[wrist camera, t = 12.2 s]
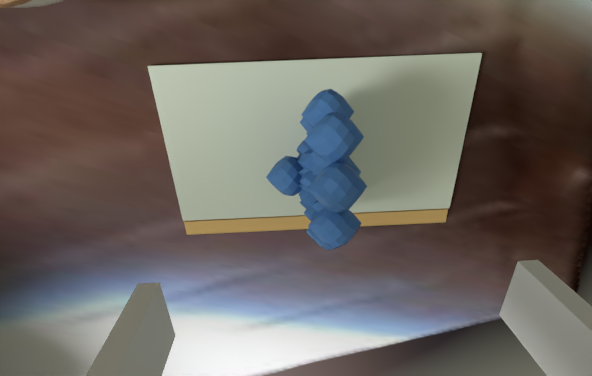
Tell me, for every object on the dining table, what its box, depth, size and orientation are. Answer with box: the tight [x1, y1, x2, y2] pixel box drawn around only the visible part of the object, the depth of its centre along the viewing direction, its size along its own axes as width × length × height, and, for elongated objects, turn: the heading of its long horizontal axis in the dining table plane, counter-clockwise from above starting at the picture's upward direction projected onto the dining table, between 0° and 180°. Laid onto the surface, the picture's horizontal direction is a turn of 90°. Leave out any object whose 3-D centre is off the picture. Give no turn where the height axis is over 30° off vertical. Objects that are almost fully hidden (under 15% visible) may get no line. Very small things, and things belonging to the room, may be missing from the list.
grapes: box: [266, 89, 367, 250], centre depth 22 cm, size 12×7×12 cm, turn 3°
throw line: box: [184, 208, 448, 235], centre depth 31 cm, size 26×2×1 cm, turn 92°
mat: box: [148, 53, 482, 221], centre depth 28 cm, size 26×14×1 cm, turn 92°
